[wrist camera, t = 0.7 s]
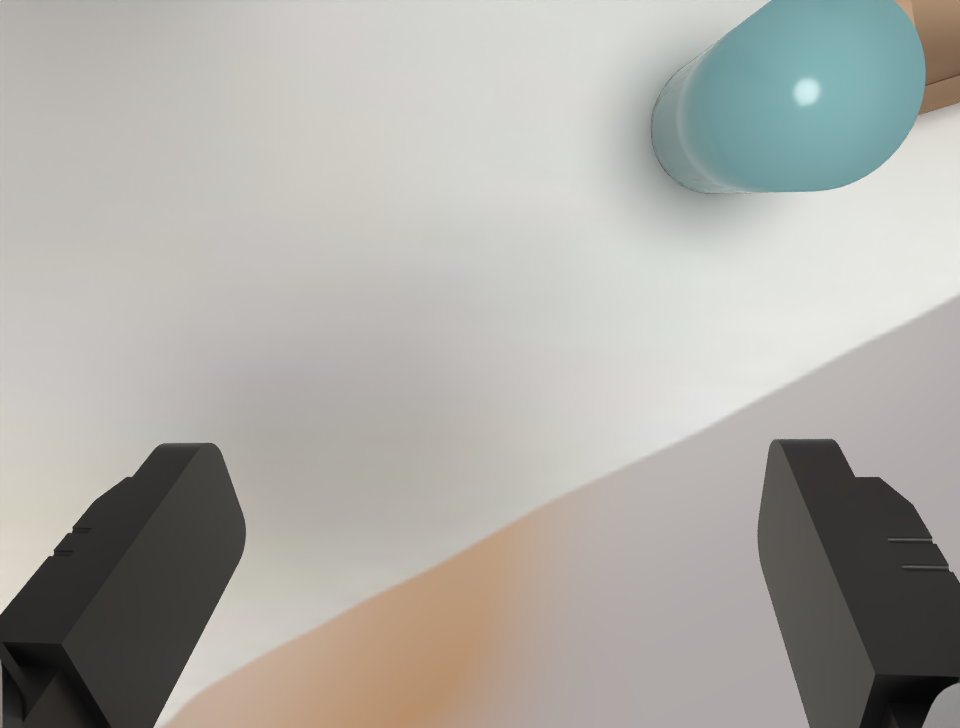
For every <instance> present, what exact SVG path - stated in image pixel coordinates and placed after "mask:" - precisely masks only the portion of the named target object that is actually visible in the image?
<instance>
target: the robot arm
mask: <svg viewBox="0 0 960 728" xmlns="http://www.w3.org/2000/svg"><path fill="white" fill-rule="evenodd" d="M245 538H246V527H245V520H244V516H243V513H242V510H241V507H240V505H239V502H238V499H237V496H236V493H235V490H234V487H233V485H232V482H231V479H230V476H229V473H228V470H227V467H226V465H225V462H224V459H223V456H222V454H221V451H220V450H219V448H218V447H217V446H216V445H214V444H212V443H164V444H161V445H159V446H158V447H156V448H155V449H154V450H153V452H152V453H151V454H150V456H149V457H148V458H147V459H146V461H145V462H144V463H143V464H142V466H141V467H140V468H139V469H138V471H137V472H136V473H135V474H134V476H133V477H126V478H125V479H124V480H122V481H121V482H119V483H118V484H117V485H115V486H114V487H113V488H111V489H110V490H109V491H107V492H106V493H104V494H103V495H102V496H100V497H99V498H98V499H96V500H95V501H94V502H93V503H92V505H91V506H90V507H89V508H88V509H87V511H86V512H85V513H84V514H83V515H82V517H81V518H80V519H79V520H78V522H77V523H76V524H75V525H74V526H73V532H72V533H68V534H67V535H66V536H65V537H64V539H63V540H62V541H61V542H60V543H59V545H58V546H57V547H56V548H55V549H54V555H53V556H49V557H48V558H47V559H46V560H45V562H44V563H43V564H42V565H41V566H40V568H39V569H38V570H37V571H36V572H35V574H34V575H33V576H32V577H31V578H30V580H29V581H28V582H27V583H26V585H25V586H24V587H23V588H22V589H21V591H20V592H19V593H18V594H17V595H16V597H15V598H14V599H13V600H12V601H11V603H10V604H9V605H8V606H7V608H6V609H5V610H4V611H3V612H2V614H1V615H0V728H153V727H154V725H155V723H156V721H157V719H158V717H159V715H160V713H161V711H162V709H163V708H164V706H165V704H166V702H167V700H168V698H169V696H170V694H171V692H172V690H173V688H174V686H175V684H176V682H177V681H178V679H179V677H180V675H181V673H182V671H183V669H184V667H185V665H186V663H187V661H188V659H189V657H190V655H191V654H192V652H193V650H194V648H195V646H196V644H197V642H198V640H199V638H200V636H201V634H202V632H203V630H204V629H205V627H206V625H207V623H208V621H209V619H210V617H211V615H212V613H213V611H214V609H215V607H216V605H217V603H218V602H219V600H220V598H221V596H222V594H223V592H224V590H225V588H226V586H227V584H228V582H229V580H230V578H231V576H232V575H233V573H234V571H235V569H236V567H237V565H238V563H239V561H240V559H241V556H242V553H243V550H244V546H245ZM758 549H759V557H760V562H761V567H762V571H763V574H764V577H765V581H766V584H767V587H768V591H769V594H770V597H771V600H772V604H773V607H774V610H775V614H776V617H777V620H778V624H779V627H780V630H781V634H782V637H783V640H784V643H785V647H786V650H787V653H788V657H789V660H790V663H791V667H792V670H793V673H794V677H795V680H796V683H797V686H798V689H799V693H800V696H801V700H802V703H803V706H804V710H805V713H806V716H807V719H808V723H809V726H810V728H960V583H959V581H958V579H957V578H956V576H955V574H954V573H953V572H950V571H949V568H948V563H947V561H946V559H945V558H944V556H943V554H942V553H941V551H940V549H939V548H938V546H937V544H933V542H932V536H931V535H930V533H929V531H928V529H927V528H926V526H925V524H924V523H923V521H922V519H921V518H920V516H919V514H918V513H917V511H916V509H915V507H914V506H913V505H912V504H911V503H910V502H909V501H908V500H906V499H905V498H904V497H903V496H901V495H900V494H899V493H898V492H897V491H895V490H894V489H893V488H892V487H891V486H889V485H888V484H887V483H886V482H884V481H883V480H882V479H881V478H879V477H855V476H854V474H853V472H852V470H851V468H850V466H849V464H848V462H847V460H846V458H845V456H844V455H843V453H842V451H841V449H840V447H839V445H838V444H837V443H836V441H835V440H833V439H780V440H779V439H777V440H773V441H772V443H771V445H770V448H769V452H768V459H767V465H766V472H765V479H764V486H763V493H762V499H761V507H760V513H759V521H758Z"/></svg>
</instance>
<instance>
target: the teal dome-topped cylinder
mask: <svg viewBox="0 0 960 728" xmlns="http://www.w3.org/2000/svg"><path fill="white" fill-rule="evenodd" d="M925 73H926V69H925V58H924V53H923V49H922V44H921V41H920V39H919V36H918V33H917V31H916V29H915V27H914V25H913V24H912V22H911V20H910V18H909V17H908V16H907V14H906V13H905V12H904V11H903V9H902V8H901V7H900V6H899V5H898V4H897V3H896V2H895V1H894V0H771V1H770V2H769V3H767V4H766V5H765V6H763V7H762V8H761V9H759V10H758V11H757V12H755V13H754V14H753V15H751V16H750V17H749V18H747V19H746V20H745V21H744V22H742V23H741V24H740V25H738V26H737V27H736V28H734V29H733V30H732V31H730V32H729V33H728V34H726V35H725V36H724V37H722V38H721V39H720V40H719V41H717V42H716V43H715V44H713V45H712V46H711V47H709V48H708V49H707V50H705V51H704V52H703V53H701V54H700V55H699V56H697V57H696V58H695V59H693V60H692V61H691V62H690V63H688V64H687V65H686V66H684V67H683V68H682V69H680V70H679V71H678V72H677V73H676V74H675V75H674V76H673V77H672V78H671V79H670V80H669V81H668V82H667V84H666V85H665V87H664V88H663V90H662V91H661V93H660V95H659V97H658V99H657V101H656V104H655V107H654V111H653V116H652V123H651V137H652V143H653V147H654V150H655V153H656V156H657V158H658V160H659V162H660V164H661V165H662V167H663V168H664V170H665V171H666V172H667V173H668V174H669V175H670V176H671V177H672V178H673V179H674V180H675V181H676V182H678V183H680V184H681V185H683V186H684V187H687V188H689V189H691V190H694V191H697V192H702V193H713V194H720V193H763V192H806V191H823V190H830V189H835V188H839V187H842V186H845V185H848V184H851V183H853V182H855V181H857V180H859V179H861V178H863V177H865V176H867V175H868V174H870V173H871V172H873V171H874V170H876V169H877V168H878V167H880V166H881V165H882V164H883V163H884V162H885V161H887V160H888V159H889V158H890V157H891V156H892V155H893V153H894V152H895V151H896V150H897V149H898V148H899V147H900V145H901V144H902V142H903V141H904V140H905V138H906V137H907V135H908V133H909V132H910V130H911V128H912V126H913V124H914V122H915V120H916V117H917V115H918V113H919V110H920V106H921V103H922V99H923V94H924V88H925Z"/></svg>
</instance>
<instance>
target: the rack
mask: <svg viewBox="0 0 960 728" xmlns="http://www.w3.org/2000/svg"><path fill="white" fill-rule="evenodd" d="M894 1H895V2H896V3H897V4H898V5H899V6H900V7H901V8H902V9H903V11H904V12H905V13H906V14H907V16H908V17H909V18H910V20H911V22H912V24H913V25H914V27H915V29H916V31H917V33H918V36H919V39H920V41H921V44H922V49H923V53H924V58H925V69H926V73H925V88H924V94H923V99H922V103H921V106H920V110H919V113H918V115H920V114H923V113H927V112H930V111H933V110H936V109H940V108H943V107H946V106H949V105H953V104H956V103H959V102H960V0H894Z"/></svg>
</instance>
